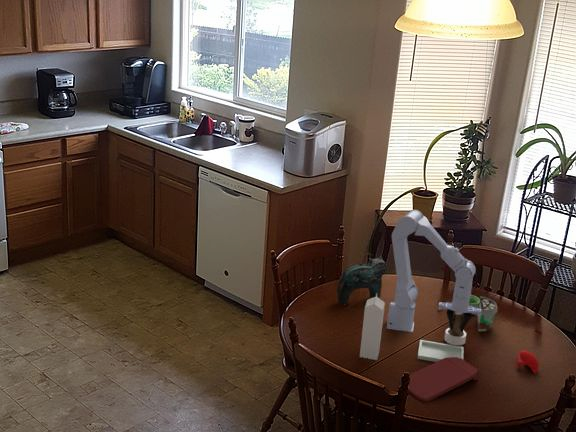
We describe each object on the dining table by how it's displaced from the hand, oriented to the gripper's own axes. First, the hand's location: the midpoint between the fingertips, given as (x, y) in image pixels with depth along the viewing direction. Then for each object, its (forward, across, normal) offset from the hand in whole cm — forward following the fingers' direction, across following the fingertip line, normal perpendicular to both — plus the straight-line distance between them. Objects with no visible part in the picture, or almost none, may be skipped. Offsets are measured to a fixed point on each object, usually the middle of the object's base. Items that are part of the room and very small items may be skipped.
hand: (456, 329), depth 250 cm
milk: (+5, -28, -20) cm, 34 cm away
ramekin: (+5, +4, +28) cm, 29 cm away
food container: (+5, +11, +14) cm, 19 cm away
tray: (+5, -4, -12) cm, 14 cm away
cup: (+5, 0, 0) cm, 5 cm away
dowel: (+4, 0, 0) cm, 4 cm away
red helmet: (+5, +24, -10) cm, 27 cm away
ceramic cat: (+5, -37, +20) cm, 42 cm away
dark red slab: (+5, -4, -29) cm, 30 cm away
